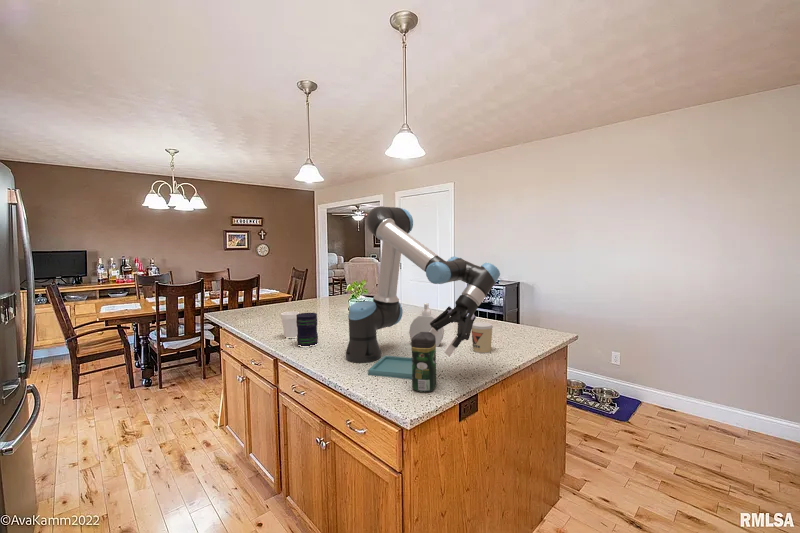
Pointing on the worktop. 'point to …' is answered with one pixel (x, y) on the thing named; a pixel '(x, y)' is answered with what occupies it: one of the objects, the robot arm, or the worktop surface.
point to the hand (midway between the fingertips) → (434, 349)
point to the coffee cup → (482, 337)
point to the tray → (392, 367)
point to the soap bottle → (425, 324)
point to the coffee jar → (423, 362)
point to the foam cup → (289, 323)
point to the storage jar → (307, 329)
